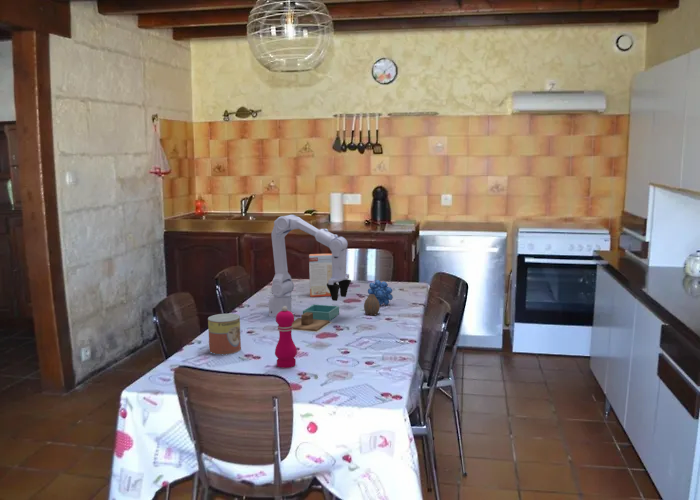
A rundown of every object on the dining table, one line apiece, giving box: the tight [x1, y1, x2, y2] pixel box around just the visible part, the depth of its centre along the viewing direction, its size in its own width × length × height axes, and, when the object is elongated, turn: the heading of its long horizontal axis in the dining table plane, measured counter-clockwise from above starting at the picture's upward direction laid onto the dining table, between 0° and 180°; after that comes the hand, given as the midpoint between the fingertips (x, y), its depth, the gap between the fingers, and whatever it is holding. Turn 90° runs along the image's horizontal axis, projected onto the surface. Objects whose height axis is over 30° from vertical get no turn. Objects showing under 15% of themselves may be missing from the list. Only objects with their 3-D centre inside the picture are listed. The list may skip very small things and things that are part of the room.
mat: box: [292, 321, 333, 333], centre depth 249 cm, size 16×16×1 cm
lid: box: [292, 312, 331, 333], centre depth 249 cm, size 14×14×5 cm
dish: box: [302, 304, 340, 322], centre depth 263 cm, size 12×12×4 cm
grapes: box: [367, 279, 394, 306], centre depth 282 cm, size 12×7×12 cm, turn 86°
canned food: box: [207, 313, 242, 356], centre depth 219 cm, size 11×11×12 cm
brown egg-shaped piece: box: [363, 293, 381, 316], centre depth 267 cm, size 7×7×9 cm
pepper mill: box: [274, 306, 298, 369], centre depth 202 cm, size 7×7×20 cm
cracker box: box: [308, 253, 339, 298], centre depth 304 cm, size 14×6×21 cm, turn 94°
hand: (339, 298), depth 255 cm, fingers open, 7 cm apart
